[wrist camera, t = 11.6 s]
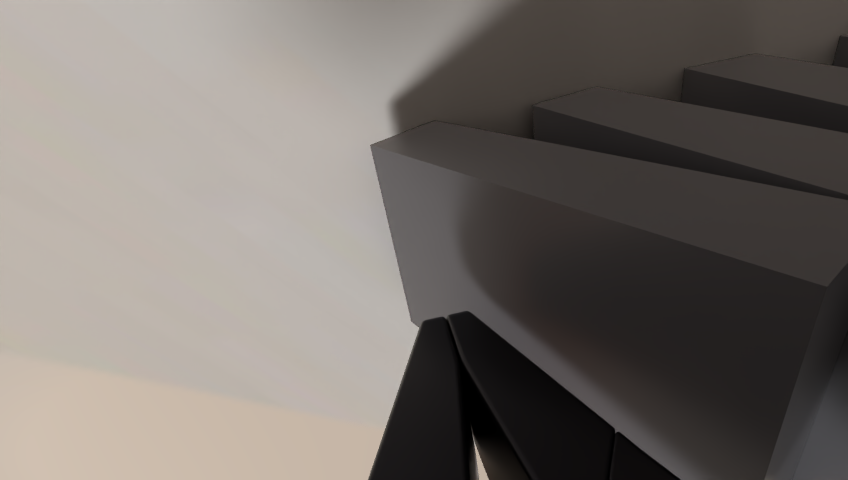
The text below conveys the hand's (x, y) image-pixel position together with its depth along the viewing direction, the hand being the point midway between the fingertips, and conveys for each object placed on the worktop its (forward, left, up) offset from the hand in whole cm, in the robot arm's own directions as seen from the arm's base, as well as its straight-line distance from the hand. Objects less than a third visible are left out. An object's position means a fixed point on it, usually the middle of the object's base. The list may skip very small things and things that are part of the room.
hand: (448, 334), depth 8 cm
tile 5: (0, 0, -4) cm, 4 cm away
